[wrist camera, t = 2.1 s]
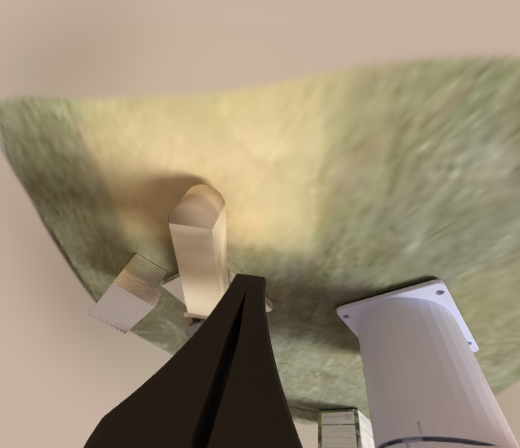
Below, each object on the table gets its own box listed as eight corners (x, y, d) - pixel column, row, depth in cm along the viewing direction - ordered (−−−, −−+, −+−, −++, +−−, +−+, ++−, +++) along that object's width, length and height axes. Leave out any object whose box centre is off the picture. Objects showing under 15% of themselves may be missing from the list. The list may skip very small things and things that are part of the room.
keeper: (185, 253, 21) (154, 307, 17) (157, 281, 24) (125, 333, 20) (153, 232, 20) (112, 282, 16) (127, 263, 23) (88, 313, 19)
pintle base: (273, 302, 23) (266, 351, 19) (217, 321, 26) (202, 365, 23) (220, 250, 20) (201, 297, 17) (165, 278, 23) (139, 322, 20)
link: (233, 314, 23) (226, 341, 21) (199, 308, 23) (188, 334, 21) (229, 187, 15) (217, 211, 13) (177, 181, 16) (158, 203, 14)
